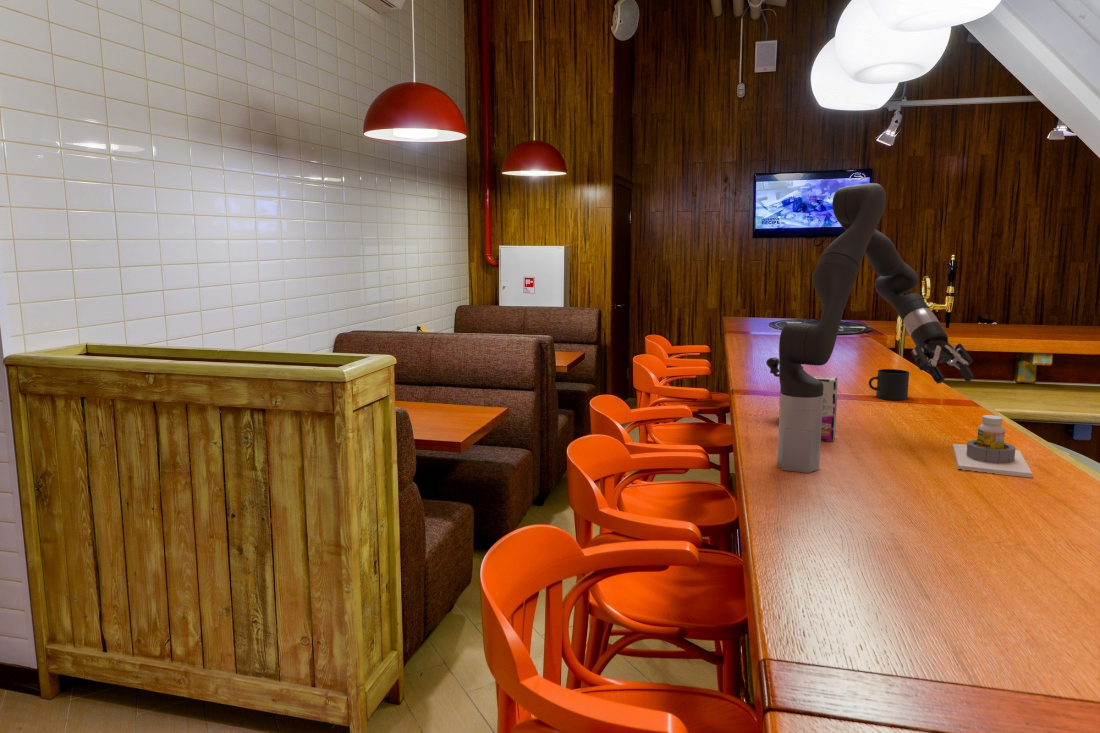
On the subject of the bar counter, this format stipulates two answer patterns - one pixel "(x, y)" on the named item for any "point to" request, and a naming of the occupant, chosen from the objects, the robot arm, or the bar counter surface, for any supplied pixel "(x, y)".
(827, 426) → the candy bar box
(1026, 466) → the socket plate
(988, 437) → the supplement bottle
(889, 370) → the mug
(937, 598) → the bar counter surface
